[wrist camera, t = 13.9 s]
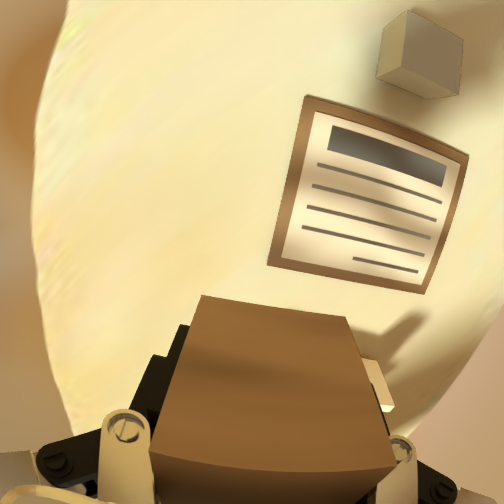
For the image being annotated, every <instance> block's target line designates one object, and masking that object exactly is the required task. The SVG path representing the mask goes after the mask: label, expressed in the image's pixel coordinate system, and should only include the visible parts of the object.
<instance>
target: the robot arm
mask: <svg viewBox="0 0 504 504" xmlns="http://www.w3.org/2000/svg"><path fill="white" fill-rule="evenodd" d="M189 328H190V326H187V325H182V324H180V326H179V328H178V330H177V333H176V335H175V338H174V340H173V343H172V345H171V348H170V350H169V353H168V355H167V357H163V356H159V355H155V354H154V355H153V356H152V358H151V360H150V362H149V364H148V366H147V368H146V371H145V373H144V375H143V377H142V380H141V382H140V384H139V386H138V389H137V391H136V393H135V396H134V398H133V400H132V403H131V405H130V407H129V409H119V410H116V411H113V412H111V413H110V414H108V415H107V416H106V417H105V419H104V420H103V423H102V428H100V429H97V430H94V431H91V432H87V433H84V434H81V435H78V436H74V437H71V438H68V439H64V440H61V441H57V442H53V443H50V444H47V445H45V446H43V447H42V448H41V449H40V450H39V451H38V452H35V453H32V452H31V451H30V450H29V451H18V452H6V453H0V504H161V502H160V499H159V495H158V491H157V487H156V483H155V479H154V475H153V471H152V466H151V462H150V457H149V452H148V449H149V446H150V443H151V440H152V437H153V434H154V431H155V428H156V424H157V421H158V418H159V415H160V412H161V409H162V406H163V403H164V400H165V397H166V394H167V391H168V388H169V385H170V382H171V380H172V377H173V374H174V371H175V368H176V365H177V362H178V359H179V356H180V354H181V351H182V348H183V345H184V342H185V339H186V337H187V334H188V331H189ZM370 383H371V382H370ZM371 386H372V388H373V391H374V394H375V397H376V400H377V403H378V406H379V409H380V411H381V414H382V417H383V420H384V423H385V426H386V430H387V433H388V436H389V439H390V442H391V445H392V448H393V452H394V455H395V458H396V462H397V465H398V466H397V467H396V468H395V469H394V470H393V471H392V472H390V473H389V474H388V475H387V476H386V477H385V478H384V479H383V480H382V481H381V482H380V483H378V484H377V485H376V486H375V487H374V488H373V489H372V490H370V491H369V492H368V493H367V494H366V495H364V496H363V497H362V498H361V499H360V500H358V501H357V502H356V503H354V504H497V503H496V501H495V500H494V499H492V498H490V497H487V496H484V495H481V494H478V493H475V492H472V491H469V490H467V489H464V488H459V489H457V487H456V484H455V483H454V482H453V481H452V480H451V479H449V478H448V477H446V476H444V475H443V474H441V473H439V472H437V471H435V470H434V469H432V468H430V467H428V466H427V465H425V464H423V463H422V462H420V461H418V460H417V453H416V448H415V446H414V445H413V443H412V442H411V441H410V440H409V439H407V438H405V437H403V436H400V435H391V436H390V433H389V430H388V427H387V424H386V421H385V418H384V415H383V412H382V409H381V406H380V403H379V400H378V397H377V394H376V392H375V389H374V386H373V384H372V383H371ZM97 498H98V500H97Z"/></svg>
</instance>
